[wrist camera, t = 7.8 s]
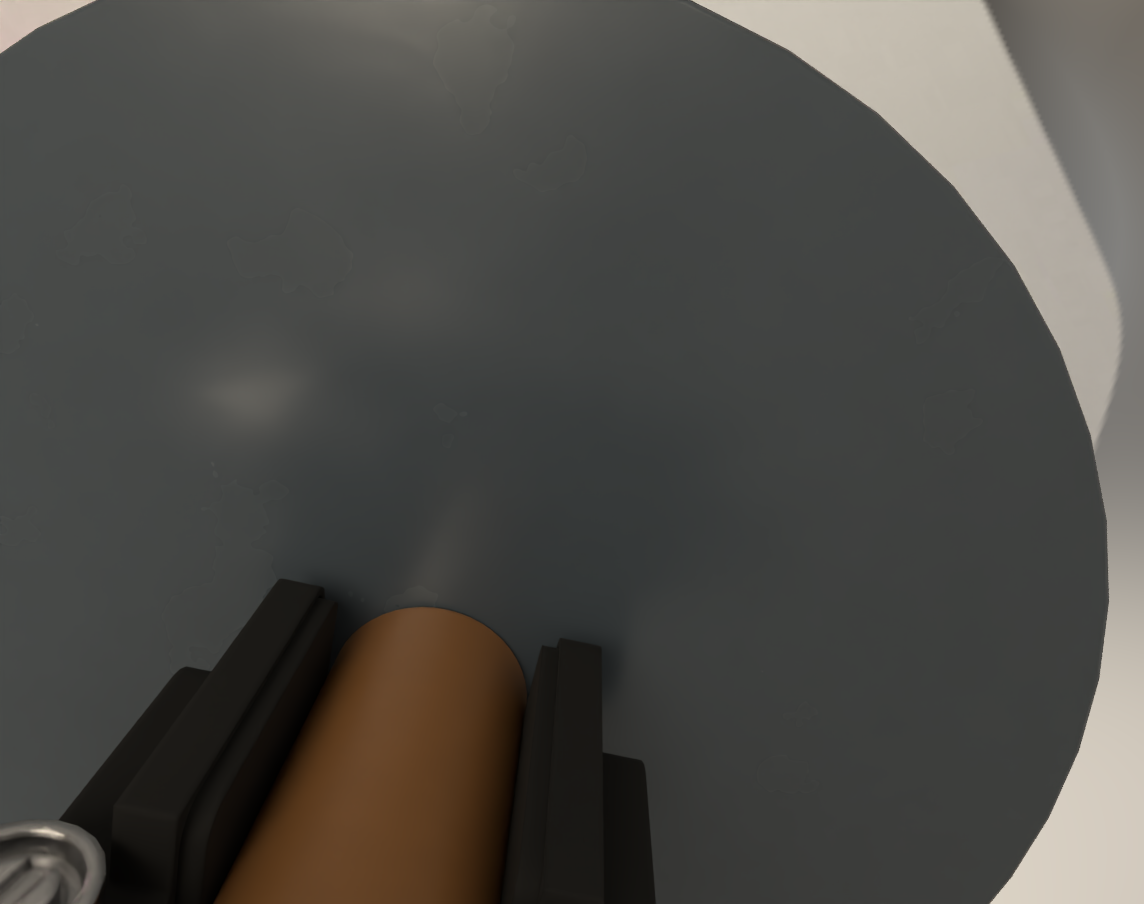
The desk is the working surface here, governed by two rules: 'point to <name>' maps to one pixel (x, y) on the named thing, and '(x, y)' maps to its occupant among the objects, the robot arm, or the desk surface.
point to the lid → (534, 441)
